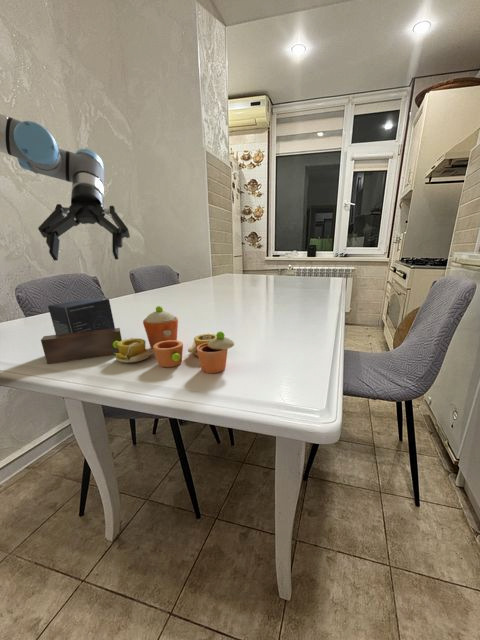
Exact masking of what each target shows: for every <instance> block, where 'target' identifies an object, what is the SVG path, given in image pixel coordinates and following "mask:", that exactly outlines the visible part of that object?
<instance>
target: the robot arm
mask: <svg viewBox="0 0 480 640" xmlns="http://www.w3.org/2000/svg"><path fill="white" fill-rule="evenodd" d="M0 152H1V153H2V154H7V155H9V156H11V157H14V158H17V161H18V165H19V166H20V168H22V169H23V170H26V171H29V172H32V173H34V174H37V175H43V176H47V177H49V178H54V179H58V180H61V181H66V182H69V183H71V196H70V205H69V206H68V207H67V206H66V207H64V206H63V205H62V204H60V203H56V205H55V209H54V210H53V211H52V213H51V214H50V215H48V216H47V218H46V219H45V220H44V221H43V222H42V223H41V224H40V225H39V226H38V228H37V230H38V231H39V233H40V235H41V236H42V237H43V238H45V239H46V240H45V243H46V245H47V246H48V248H49V249H48V253H49V255H50V257H51V258H52V260H53V261H58V259H59V250H60V238H59V237H61V236H62V235H63V234H65V233H66V232H68V231H69V230H70V229H72V228H73V227H78V226H79V225H80V224H81V225H88V224H90V225H95V224H98V225H99V226H100V227H103V228H104V229H105V230H106V231H108V232H109V233H110V234H111V235H112V245H111V246H112V247H111V249H112V255H113V257H114V260H119V248H123V239H124V238H126V239H129V238H130V237H131V235H130V234H131V233H130V231H129V228H128V226H127V225H126V224H125V223H124V221H123V220H122V219H121V217H120V216H119V215H118V213H117V212H116V209H115V208H116V207H115V206H114V205H109V207H108V208H104V206H105V205H104V204H105V199H104V198H105V197H104V196H105V166H104V162H103V160H102V158H101V157H100V156H99V155H98V154H97V153H96V152H94V151H93V150H92V149H88V148H80V149H77V150H76V152H73V151H70V150H69V151H68V150H65V149H62V148H59V146H58V142H57V141H56V140H55V138H54V136H53V135H52V134H51V133H50V131H49V130H47V128H45V127H44V126H43V125H41V124H40V123H37V122H36V121H31V120H24V121H21V120H18V119H16V118H13V117H11V116H9V115H6V114H3V113H1V112H0ZM106 215H107V216H108V217H109V218H110V219H112V221H113V222H111V221H110V220H109V219H107V218H106V217H105V216H106Z"/></svg>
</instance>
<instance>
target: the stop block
mask: <svg viewBox="0 0 480 640" xmlns="http://www.w3.org/2000/svg"><path fill="white" fill-rule="evenodd" d="M122 340H123V337H122V332H121V328H120V327H115V328H114V329H105V330H96V331H87V332H77V333H68V334H59V335H56V334H50V335H43V337H42V338H41V340H40V342H41V346H42V350H43V353H44V358H45V361H46V364H47V365H49V364H50V365H51V364H56V363H64V362H70V361H76V360H77V361H78V360H85V359H92V358H99V357H106V356H112V355H115V354H114V353H118V354H119V353H120V352H119V349H118V348H114V347H113V342H114V341H119V342H120V341H122Z"/></svg>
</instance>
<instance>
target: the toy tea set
mask: <svg viewBox="0 0 480 640" xmlns="http://www.w3.org/2000/svg"><path fill="white" fill-rule="evenodd" d="M142 323H143V327H144V331H145V333H146V337H147V341H148V344H149V346H150V348H147V349H146V340H145V339H142V338H128V339H126V338H125V339H122V341H120V342H119V341H114V342H113V347H114V348H118V349H119V352H120V353H119V354H118V353H114V355H115V359H116V361H118V362H120V363H126V364H127V363H136V362H141V361H144V360H146V359H148V358H149V357H150V356H151V355H153V354H154V356H155V358H156V361H157V364H158V366H160V367H162V368H173V367H177V366H179V365H180V364H182V361H183V351H184V343H183V341H181V340H178V330H179V329H178V327H179V318H178V317H177V316H175V315H173V314H172V313H170V312H169V311H166V310H164V308H163V306H161V305H157V306H156V307H155V311H152V312H151V313H149V314H148V315H147V316H146V317H145V318H144V319H143V320H142ZM234 346H235V342H234V340H232V339H230V338H229V337H225V333H224V332H223V331H217V333H216V334H213V333H210V332H208V333H203V334H198V335H196V336H195V337H193V343H192V345H191V347H188V348H187V352H188V353H191V354H193V355H194V356H197V357H198V362H199V364H200V365H199V366H200V369H201V370H202V371H203V372H204V373H207V374H217V373H221V372H223V371H224V370H225V369H226V366H227V360H228V350H229V349H231V348H233V347H234Z"/></svg>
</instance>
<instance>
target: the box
mask: <svg viewBox="0 0 480 640" xmlns="http://www.w3.org/2000/svg"><path fill="white" fill-rule="evenodd" d="M47 307H48V311H49V314H50V318H51V322H52V326H53V329H54V333H55V335H59V334H68V333H77V332H87V331H96V330H105V329H114V328H116V326H115V321H114V316H113V312H112V307H111V303H110V298H102V297H91V296H90V297H87V298H82V299H76V300H69V301H65V302H59V303H53V304H48V305H47Z"/></svg>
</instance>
